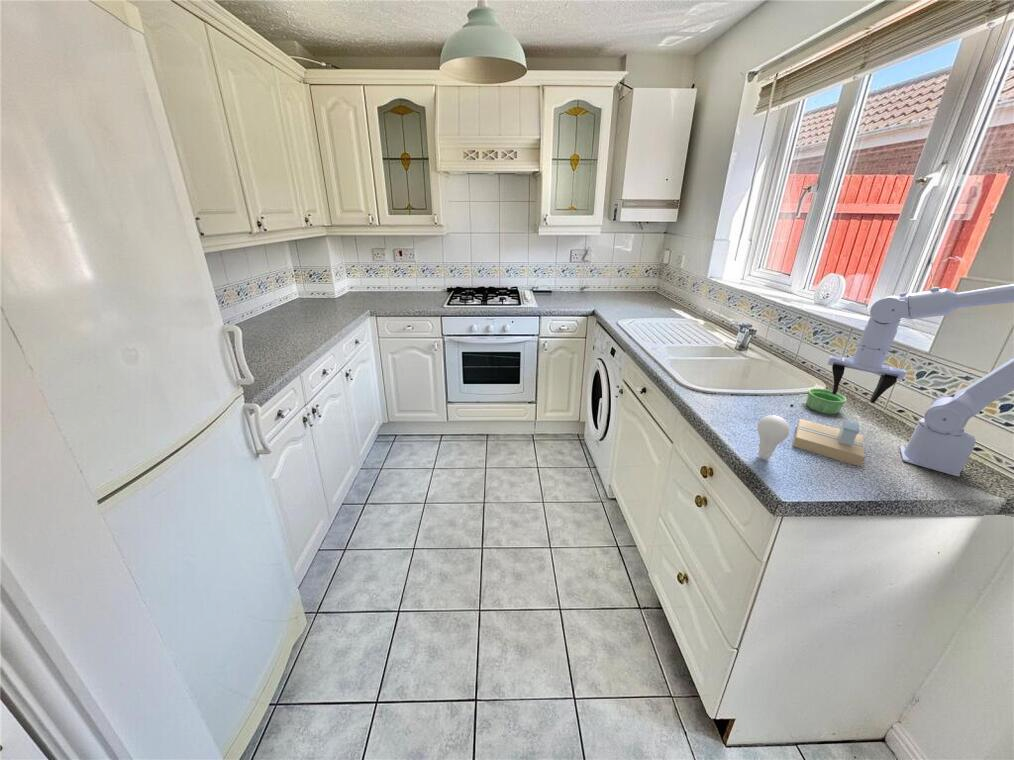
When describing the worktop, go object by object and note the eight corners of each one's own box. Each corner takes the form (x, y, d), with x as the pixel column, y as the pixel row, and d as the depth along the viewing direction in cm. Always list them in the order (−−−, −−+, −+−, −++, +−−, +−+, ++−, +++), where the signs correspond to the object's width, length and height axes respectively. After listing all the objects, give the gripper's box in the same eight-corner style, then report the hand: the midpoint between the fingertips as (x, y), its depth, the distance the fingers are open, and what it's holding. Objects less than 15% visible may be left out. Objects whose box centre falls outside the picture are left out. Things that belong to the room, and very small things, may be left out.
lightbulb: (768, 451, 97) (781, 410, 93) (784, 466, 92) (800, 424, 87) (742, 450, 97) (755, 410, 93) (757, 466, 91) (772, 423, 87)
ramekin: (797, 404, 122) (801, 390, 120) (815, 399, 125) (820, 386, 124) (829, 417, 114) (834, 403, 113) (847, 412, 118) (853, 398, 116)
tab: (852, 437, 99) (858, 422, 97) (852, 446, 95) (859, 431, 94) (837, 433, 100) (843, 419, 99) (837, 442, 97) (843, 427, 95)
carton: (858, 444, 101) (862, 435, 100) (860, 466, 93) (864, 456, 92) (796, 427, 108) (799, 418, 107) (792, 446, 100) (796, 436, 99)
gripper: (912, 349, 97) (888, 400, 102) (836, 336, 105) (818, 384, 110) (916, 357, 92) (891, 410, 97) (836, 343, 100) (817, 393, 105)
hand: (852, 397), depth 103 cm, fingers open, 7 cm apart
